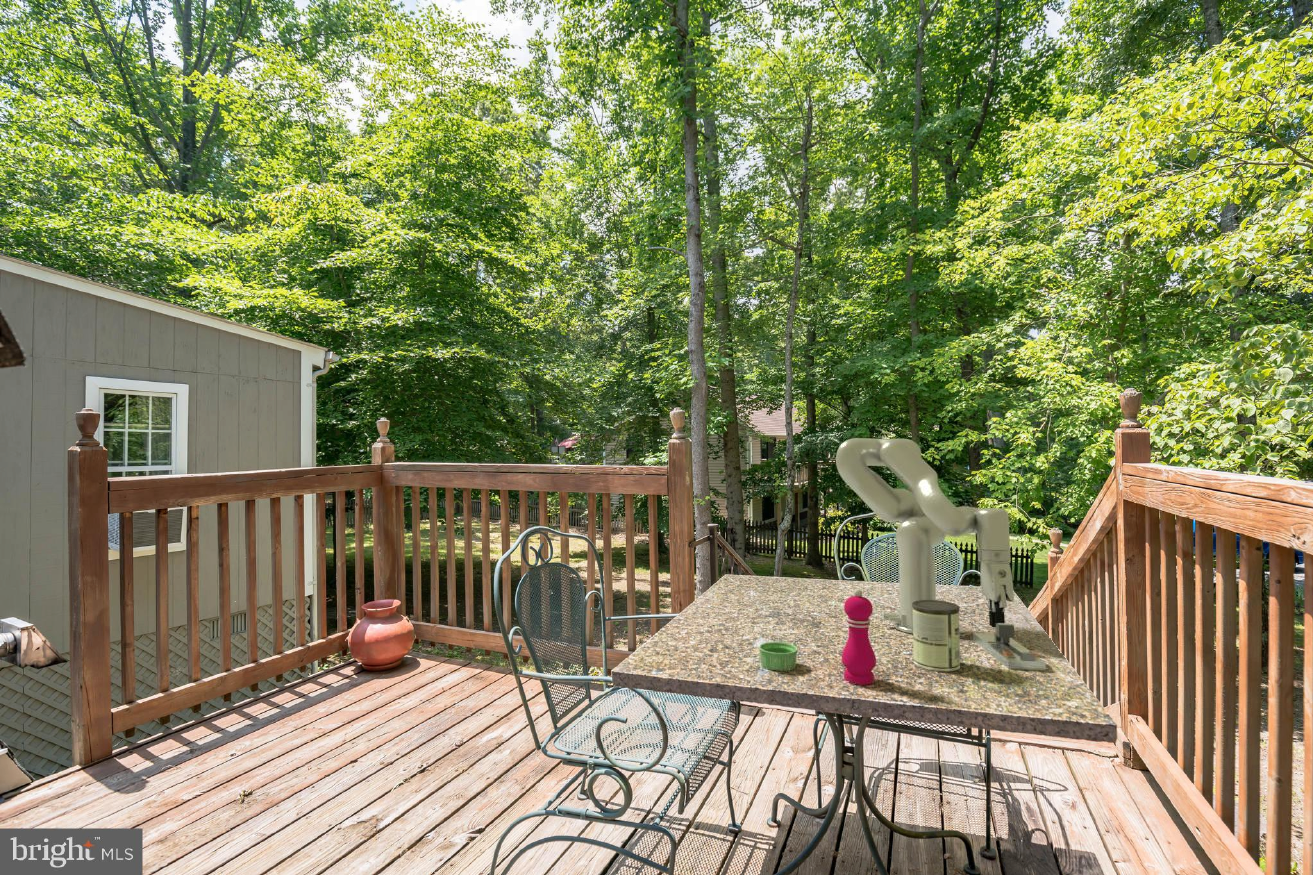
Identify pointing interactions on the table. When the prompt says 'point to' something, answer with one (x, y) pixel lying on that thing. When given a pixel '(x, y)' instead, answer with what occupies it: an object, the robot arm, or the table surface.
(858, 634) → the pepper mill
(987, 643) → the console
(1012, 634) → the fader tab
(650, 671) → the table surface
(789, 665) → the ramekin
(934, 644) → the coffee can
